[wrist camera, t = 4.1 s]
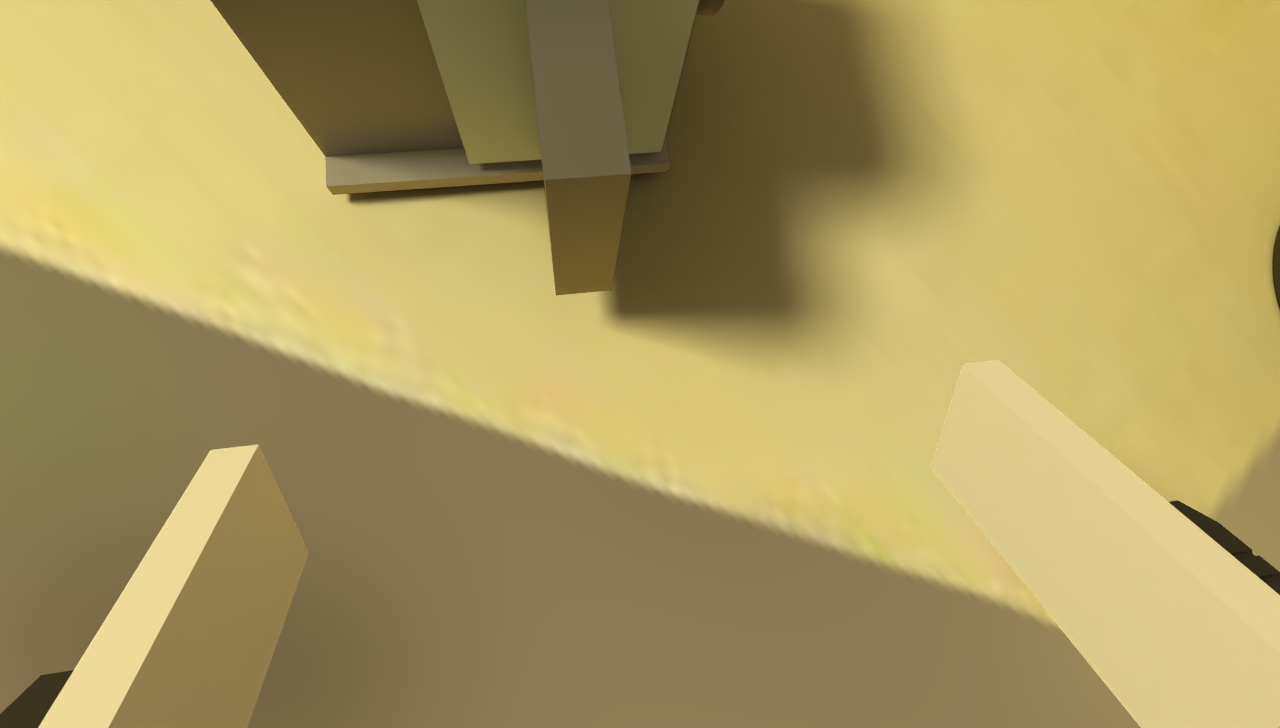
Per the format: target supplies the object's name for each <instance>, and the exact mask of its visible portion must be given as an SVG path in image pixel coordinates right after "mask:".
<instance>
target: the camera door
mask: <svg viewBox="0 0 1280 728" xmlns="http://www.w3.org/2000/svg"><path fill="white" fill-rule="evenodd" d="M698 1H699V0H417V2H418V6H419V9H420V12H421V15H422V18H423V21H424V24H425V27H426V31H427V34H428V37H429V40H430V43H431V46H432V49H433V52H434V56H435V59H436V62H437V65H438V68H439V71H440V74H441V77H442V81H443V84H444V87H445V90H446V93H447V96H448V99H449V102H450V105H451V109H452V112H453V115H454V118H455V121H456V124H457V127H458V130H459V134H460V137H461V140H462V143H463V146H464V149H465V152H466V155H467V159H468V162H469V164H480V163H495V162H511V161H526V160H542V170H543V179H544V188H545V197H546V207H547V216H548V225H549V235H550V244H551V253H552V262H553V272H554V281H555V290H556V295H564V294H575V293H586V292H597V291H607V290H612V284H613V278H614V272H615V266H616V261H617V255H618V249H619V243H620V237H621V232H622V226H623V220H624V214H625V208H626V202H627V197H628V191H629V185H630V179H631V167H630V160H629V154H635V153H651V152H661V150H662V146H663V142H664V138H665V134H666V130H667V126H668V122H669V118H670V114H671V110H672V106H673V102H674V98H675V94H676V90H677V86H678V82H679V78H680V74H681V70H682V65H683V61H684V57H685V53H686V49H687V45H688V41H689V37H690V33H691V29H692V25H693V21H694V17H695V13H696V9H697V5H698Z"/></svg>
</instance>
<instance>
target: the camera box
mask: <svg viewBox="0 0 1280 728" xmlns="http://www.w3.org/2000/svg"><path fill="white" fill-rule="evenodd" d="M211 1H212V3H213V4H214V5H215V7H216V8H217V10H218V11H219V12H220V14H221V15H222V16H223V18H224V19H225V20H226V22H227V23H228V24H229V26H230V27H231V29H232V30H233V31H234V33H235V34H236V35H237V37H238V38H239V39H240V41H241V42H242V44H243V45H244V46H245V48H246V49H247V50H248V52H249V53H250V54H251V56H252V57H253V58H254V60H255V61H256V63H257V64H258V65H259V67H260V68H261V69H262V71H263V72H264V73H265V75H266V76H267V78H268V79H269V80H270V82H271V83H272V84H273V86H274V87H275V88H276V90H277V91H278V93H279V94H280V95H281V97H282V98H283V99H284V101H285V102H286V103H287V105H288V106H289V107H290V109H291V110H292V112H293V113H294V114H295V116H296V117H297V118H298V120H299V121H300V122H301V124H302V125H303V127H304V128H305V129H306V131H307V132H308V133H309V135H310V136H311V137H312V139H313V140H314V141H315V143H316V144H317V146H318V147H319V148H320V150H321V151H322V152H323V154H324V155H325V156H326V185H327V188H328V189H329V190H330V191H331V193H332V194H333V195H336V194H350V193H365V192H380V191H394V190H409V189H423V188H438V187H452V186H467V185H482V184H496V183H511V182H525V181H540V180H544V179H543V170H542V160H526V161H511V162H495V163H480V164H469V162H468V159H467V155H466V152H465V149H464V146H463V143H462V140H461V137H460V134H459V130H458V127H457V124H456V121H455V118H454V115H453V112H452V109H451V105H450V102H449V99H448V96H447V93H446V90H445V87H444V84H443V81H442V77H441V74H440V71H439V68H438V65H437V62H436V59H435V56H434V52H433V49H432V46H431V43H430V40H429V37H428V34H427V31H426V27H425V24H424V21H423V18H422V15H421V12H420V9H419V6H418V2H417V0H211ZM723 3H724V0H699V1H698V5H697V9H696V13H695V17H694V21H693V25H692V29H691V33H690V37H689V41H688V45H687V49H686V53H685V57H684V61H683V65H682V70H681V74H680V78H679V82H678V86H677V90H676V94H675V98H674V102H673V106H672V110H671V114H670V118H669V122H668V126H667V130H666V134H665V138H664V142H663V146H662V150H661V152H651V153H635V154H629V160H630V167H631V174H642V173H656V172H668V170H669V167H670V157H669V151H668V144H667V138H666V135H667V131H668V127H669V123H670V119H671V115H672V111H673V107H674V103H675V99H676V95H677V91H678V87H679V83H680V79H681V75H682V71H683V67H684V63H685V59H686V55H687V51H688V47H689V43H690V39H691V35H692V31H693V27H694V23H695V19H696V15H714V14H715V13H717V12H718V11H719V9H720V8H721V6H722V5H723Z"/></svg>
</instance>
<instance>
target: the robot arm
mask: <svg viewBox="0 0 1280 728" xmlns="http://www.w3.org/2000/svg"><path fill="white" fill-rule="evenodd" d="M1273 273H1274V282H1275V289H1276V293H1277V298H1278V302H1279V305H1280V227H1279V230H1278V233H1277V236H1276V241H1275V246H1274V255H1273ZM930 468H931V469H932V470H933V471H934V473H935V474H936V475H937V476H938V478H939V479H940V480H941V481H942V483H943V484H944V485H945V486H946V488H947V489H948V490H949V491H950V492H951V494H952V495H953V496H954V497H955V499H956V500H957V501H958V502H959V504H960V505H961V506H962V507H963V509H964V510H965V511H966V512H967V513H968V515H969V516H970V517H971V518H972V520H973V521H974V522H975V523H976V525H977V526H978V527H979V528H980V530H981V531H982V532H983V533H984V535H985V536H986V537H987V538H988V539H989V541H990V542H991V543H992V544H993V546H994V547H995V548H996V549H997V551H998V552H999V553H1000V554H1001V556H1002V557H1003V558H1004V559H1005V560H1006V562H1007V563H1008V564H1009V565H1010V567H1011V568H1012V569H1013V570H1014V572H1015V573H1016V574H1017V575H1018V577H1019V578H1020V579H1021V580H1022V581H1023V583H1024V584H1025V585H1026V586H1027V588H1028V589H1029V590H1030V591H1031V593H1032V594H1033V595H1034V596H1035V598H1036V599H1037V600H1038V601H1039V602H1040V604H1041V605H1042V606H1043V607H1044V609H1045V610H1046V611H1047V612H1048V614H1049V615H1050V616H1051V617H1052V619H1053V620H1054V621H1055V622H1056V623H1057V625H1058V626H1059V627H1060V628H1061V630H1062V631H1063V632H1064V633H1065V635H1066V636H1067V637H1068V638H1069V639H1070V641H1071V642H1072V643H1073V645H1074V646H1075V647H1076V648H1077V649H1078V651H1079V652H1080V653H1081V654H1082V655H1083V657H1084V658H1085V659H1086V661H1087V662H1088V663H1089V664H1090V666H1091V667H1092V668H1093V669H1094V670H1095V672H1096V673H1097V674H1098V675H1099V677H1100V678H1101V679H1102V680H1103V682H1104V683H1105V684H1106V685H1107V686H1108V688H1109V689H1110V690H1111V691H1112V693H1113V694H1114V695H1115V696H1116V698H1117V699H1118V700H1119V701H1120V703H1121V704H1122V705H1123V706H1124V708H1125V709H1126V710H1127V711H1128V712H1129V713H1130V715H1131V716H1132V717H1133V719H1134V720H1135V721H1136V722H1137V724H1138V725H1139V726H1140V727H1141V728H1280V572H1279V571H1277V570H1276V569H1275V568H1274V567H1273V566H1271V565H1270V564H1269V563H1268V562H1267V561H1265V560H1264V559H1263V558H1262V557H1260V556H1255V555H1253V553H1252V549H1250V548H1249V547H1248V546H1247V545H1245V544H1244V543H1243V542H1242V541H1240V540H1239V539H1238V538H1237V537H1236V536H1234V535H1233V534H1232V533H1231V532H1229V531H1228V530H1227V529H1226V528H1224V527H1223V526H1222V525H1221V524H1219V523H1218V522H1216V521H1214V520H1213V519H1211V518H1209V517H1207V516H1205V515H1203V514H1202V513H1200V512H1198V511H1196V510H1194V509H1192V508H1191V507H1189V506H1187V505H1185V504H1183V503H1181V502H1180V501H1172V502H1168V501H1167V500H1165V499H1164V498H1163V497H1162V496H1161V495H1159V494H1158V493H1157V492H1156V491H1155V490H1153V489H1152V488H1151V487H1150V486H1149V485H1147V484H1146V483H1145V482H1144V481H1143V480H1142V479H1140V478H1139V477H1138V476H1137V475H1136V474H1134V473H1133V472H1132V471H1131V470H1130V469H1128V468H1127V467H1126V466H1125V465H1124V464H1122V463H1121V462H1120V461H1119V460H1118V459H1116V458H1115V457H1114V456H1113V455H1112V454H1110V453H1109V452H1108V451H1107V450H1106V449H1104V448H1103V447H1102V446H1101V445H1100V444H1099V443H1097V442H1096V441H1095V440H1094V439H1093V438H1091V437H1090V436H1089V435H1088V434H1087V433H1085V432H1084V431H1083V430H1082V429H1081V428H1079V427H1078V426H1077V425H1076V424H1075V423H1073V422H1072V421H1071V420H1070V419H1069V418H1067V417H1066V416H1065V415H1064V414H1063V413H1061V412H1060V411H1059V410H1058V409H1057V408H1055V407H1054V406H1053V405H1052V404H1051V403H1050V402H1048V401H1047V400H1046V399H1045V398H1044V397H1042V396H1041V395H1040V394H1039V393H1038V392H1036V391H1035V390H1034V389H1033V388H1032V387H1030V386H1029V385H1028V384H1027V383H1026V382H1024V381H1023V380H1022V379H1021V378H1020V377H1018V376H1017V375H1016V374H1015V373H1014V372H1012V371H1011V370H1010V369H1009V368H1008V367H1007V366H1005V365H1004V364H1003V363H1002V362H1001V361H999V360H991V361H982V362H974V363H965V364H963V365H962V368H961V372H960V375H959V378H958V381H957V384H956V387H955V390H954V394H953V397H952V400H951V403H950V406H949V409H948V412H947V416H946V419H945V422H944V425H943V428H942V431H941V434H940V438H939V441H938V444H937V447H936V450H935V453H934V456H933V460H932V463H931V466H930ZM307 555H308V549H307V547H306V545H305V543H304V541H303V539H302V537H301V535H300V532H299V530H298V528H297V526H296V524H295V522H294V520H293V517H292V515H291V513H290V511H289V509H288V507H287V505H286V502H285V500H284V498H283V496H282V494H281V492H280V490H279V487H278V485H277V483H276V481H275V479H274V477H273V475H272V472H271V470H270V468H269V466H268V464H267V462H266V460H265V457H264V456H263V453H262V451H261V449H260V447H259V445H251V446H242V447H234V448H225V449H216V450H210V452H209V454H208V455H207V457H206V458H205V460H204V462H203V463H202V465H201V466H200V468H199V470H198V471H197V473H196V474H195V476H194V478H193V479H192V481H191V483H190V484H189V486H188V487H187V489H186V491H185V492H184V494H183V495H182V497H181V499H180V500H179V502H178V503H177V505H176V507H175V508H174V510H173V512H172V513H171V515H170V516H169V518H168V520H167V521H166V523H165V524H164V526H163V528H162V529H161V531H160V532H159V534H158V536H157V537H156V539H155V541H154V542H153V544H152V545H151V547H150V549H149V550H148V552H147V553H146V555H145V557H144V558H143V560H142V562H141V563H140V565H139V566H138V568H137V569H136V571H135V573H134V574H133V576H132V577H131V579H130V581H129V582H128V584H127V585H126V587H125V589H124V590H123V592H122V594H121V595H120V597H119V598H118V600H117V602H116V603H115V605H114V606H113V608H112V610H111V611H110V613H109V614H108V616H107V618H106V619H105V621H104V622H103V624H102V626H101V627H100V629H99V631H98V632H97V634H96V635H95V637H94V639H93V640H92V642H91V643H90V645H89V647H88V648H87V650H86V652H85V653H84V655H83V656H82V658H81V660H80V661H79V663H78V664H77V666H76V668H75V669H74V670H72V671H66V672H59V673H53V674H46V675H41V676H40V677H39V678H38V679H37V680H36V681H35V682H34V683H33V684H32V685H31V686H30V687H28V688H27V689H26V690H25V691H24V692H23V693H22V694H21V695H20V696H19V697H18V698H17V699H16V700H15V701H14V702H13V703H12V704H11V705H9V706H8V707H7V708H6V709H5V710H4V711H3V712H2V713H1V714H0V728H247V727H248V724H249V721H250V718H251V715H252V712H253V709H254V707H255V704H256V701H257V698H258V695H259V692H260V690H261V687H262V683H263V681H264V678H265V675H266V672H267V669H268V667H269V663H270V661H271V658H272V655H273V652H274V650H275V647H276V644H277V641H278V638H279V635H280V632H281V630H282V627H283V624H284V621H285V618H286V615H287V612H288V610H289V607H290V604H291V601H292V598H293V595H294V593H295V590H296V587H297V584H298V581H299V578H300V575H301V573H302V570H303V567H304V564H305V561H306V558H307Z"/></svg>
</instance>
